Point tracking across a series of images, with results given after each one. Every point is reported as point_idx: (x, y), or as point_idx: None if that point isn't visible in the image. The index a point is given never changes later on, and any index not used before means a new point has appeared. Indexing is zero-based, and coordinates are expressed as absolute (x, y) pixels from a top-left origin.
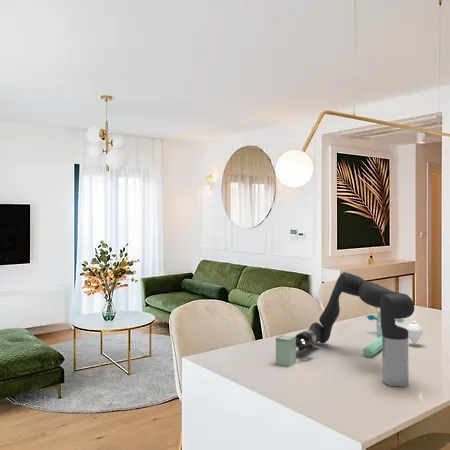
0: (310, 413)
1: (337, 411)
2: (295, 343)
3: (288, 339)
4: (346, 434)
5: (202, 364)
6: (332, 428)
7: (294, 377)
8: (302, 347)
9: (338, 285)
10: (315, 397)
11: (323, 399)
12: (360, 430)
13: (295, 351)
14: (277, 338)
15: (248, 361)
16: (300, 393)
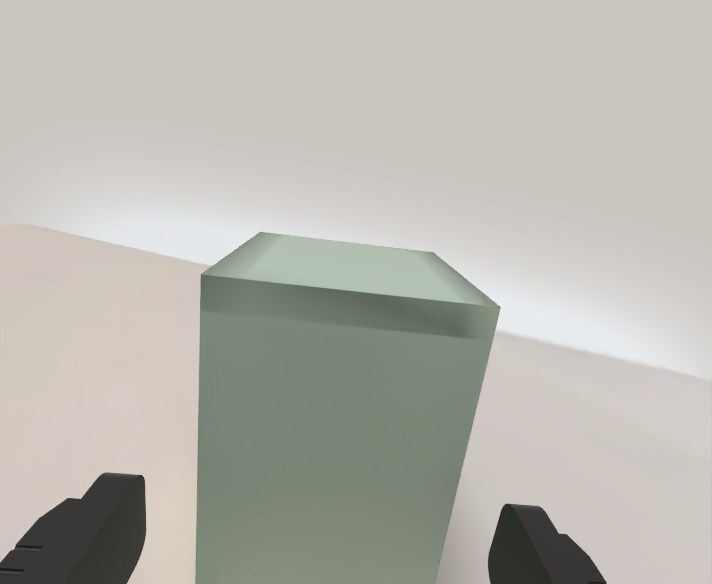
0: (115, 249)
1: (30, 252)
2: (205, 375)
3: (283, 240)
4: (46, 228)
5: (655, 371)
6: (72, 234)
7: (173, 354)
8: (44, 523)
9: None
10: (84, 277)
11: (55, 273)
12: (3, 230)
13: (203, 492)
14: (417, 252)
15: (603, 471)
16: (139, 285)
